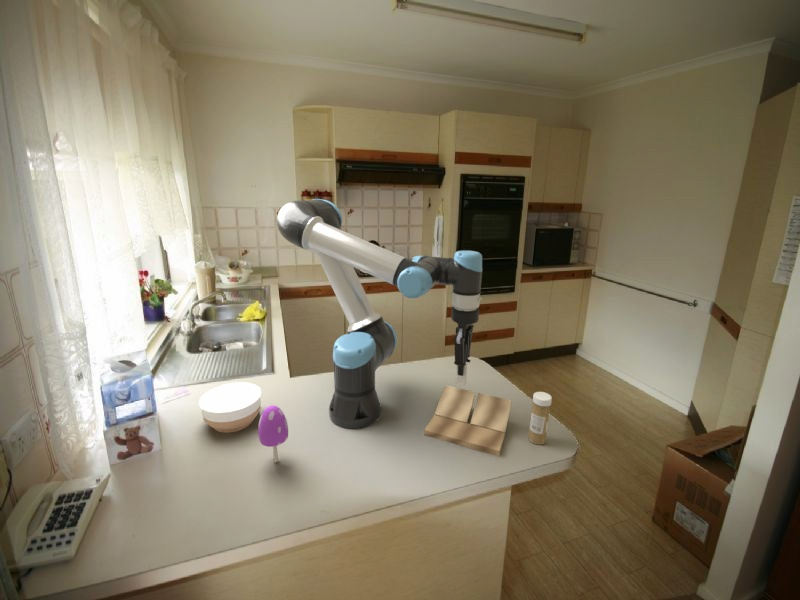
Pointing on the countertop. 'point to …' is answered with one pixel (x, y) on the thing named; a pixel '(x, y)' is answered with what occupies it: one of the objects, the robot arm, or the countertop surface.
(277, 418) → the toy
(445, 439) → the laid board
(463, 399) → the plank
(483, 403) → the plank
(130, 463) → the countertop surface
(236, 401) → the bowl
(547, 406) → the sprinkles bottle
